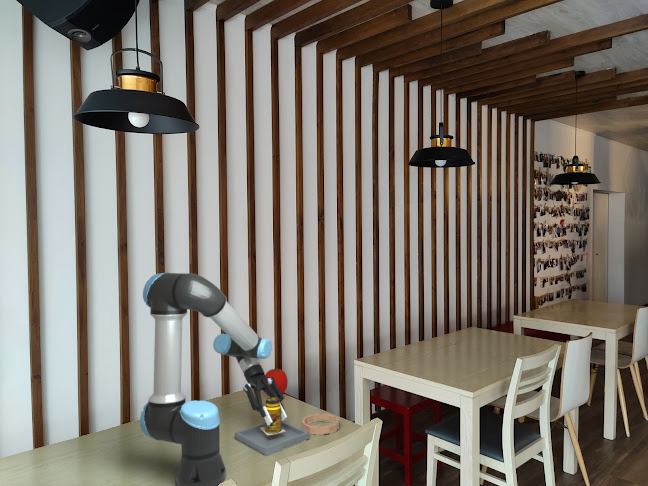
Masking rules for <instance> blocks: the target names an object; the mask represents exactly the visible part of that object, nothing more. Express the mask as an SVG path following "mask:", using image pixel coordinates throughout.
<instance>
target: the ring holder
mask: <svg viewBox="0 0 648 486" xmlns="http://www.w3.org/2000/svg"><path fill="white" fill-rule="evenodd" d="M319 419H326V420H331V421H333V422H335V423H334V424H329V425H325V426H315V425H311V424H307V423H308V422H311V421H313V420H319ZM338 427H339V428H340V419H339V418H338V417H337V416H336V415H334V414H331V413H314V414H310V415H307V416H305V417H303V418H302V420H301V429H302V428H303V430H305V431H307V432H309V433H312V434H324V433H330V432H331V431H334V430H336V429H337V428H338Z"/></svg>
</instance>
